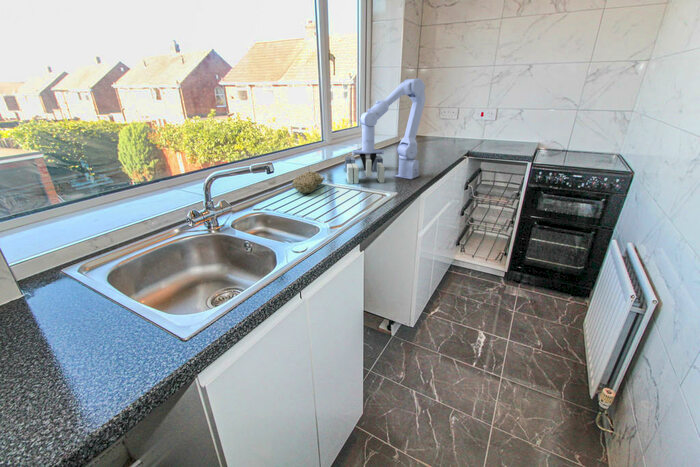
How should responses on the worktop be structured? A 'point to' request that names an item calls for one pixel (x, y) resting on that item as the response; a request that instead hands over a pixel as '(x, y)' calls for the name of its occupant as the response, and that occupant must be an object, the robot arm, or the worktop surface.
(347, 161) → the grey books
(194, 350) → the worktop surface
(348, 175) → the white books
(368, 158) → the white book
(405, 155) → the robot arm
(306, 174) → the sponge
